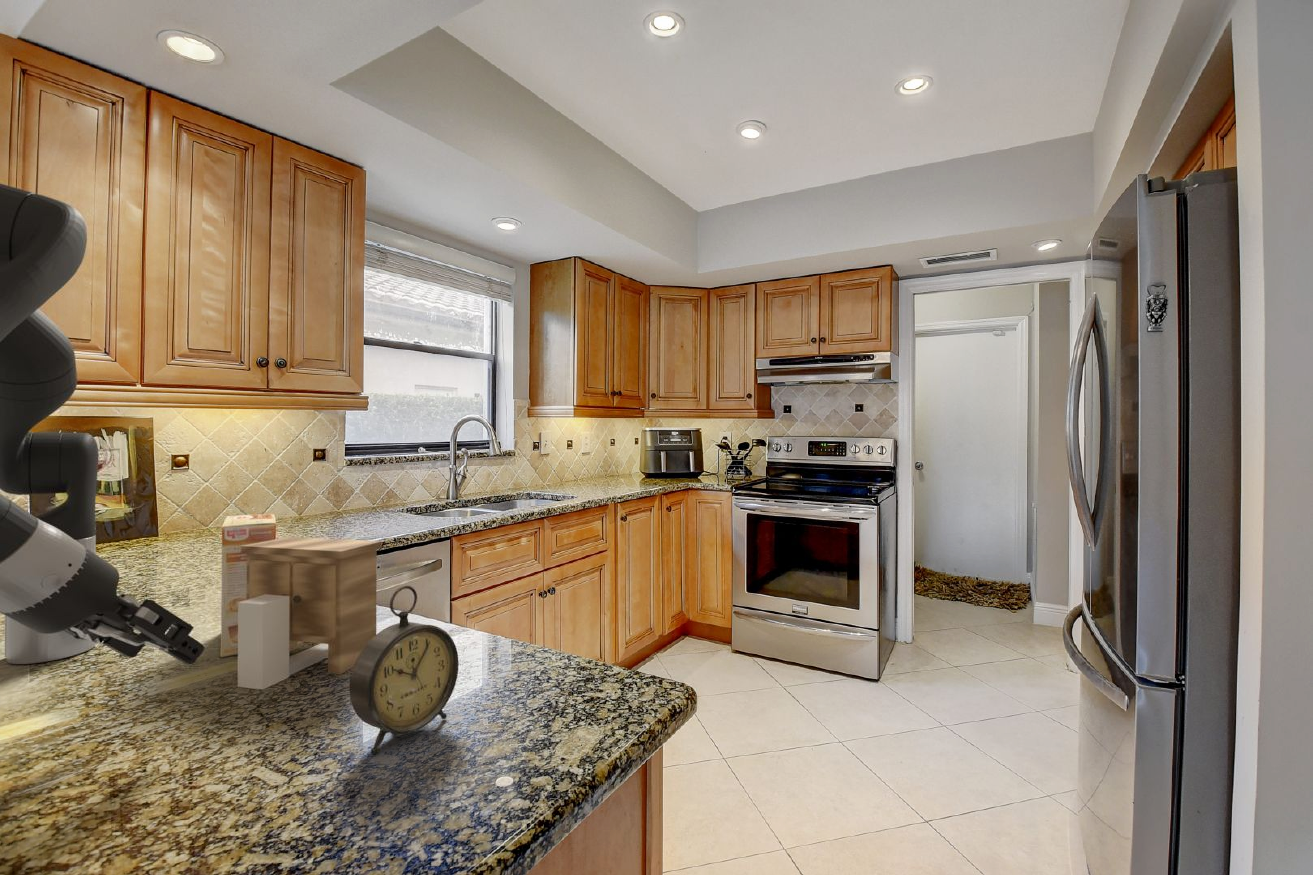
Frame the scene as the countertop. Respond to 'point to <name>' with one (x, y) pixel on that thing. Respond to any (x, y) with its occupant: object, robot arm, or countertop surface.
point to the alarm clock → (404, 676)
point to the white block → (269, 643)
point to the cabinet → (320, 591)
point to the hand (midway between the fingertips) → (167, 652)
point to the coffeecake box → (238, 569)
